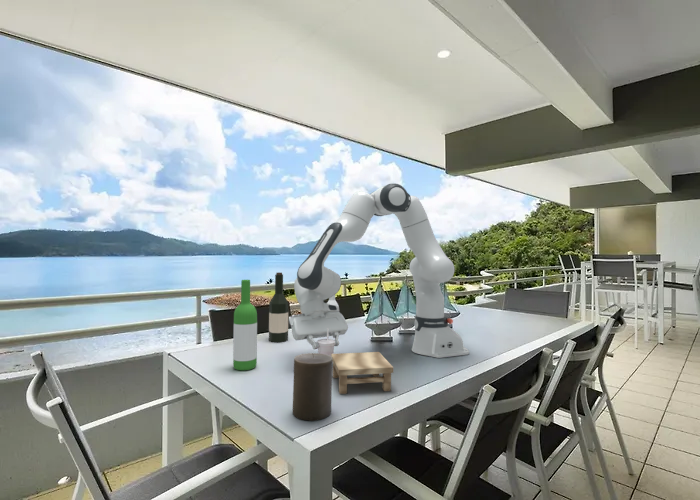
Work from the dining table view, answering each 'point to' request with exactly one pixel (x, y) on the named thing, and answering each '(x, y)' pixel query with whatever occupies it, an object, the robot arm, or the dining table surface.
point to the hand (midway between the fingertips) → (326, 346)
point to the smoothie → (326, 345)
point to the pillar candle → (312, 386)
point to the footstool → (361, 369)
